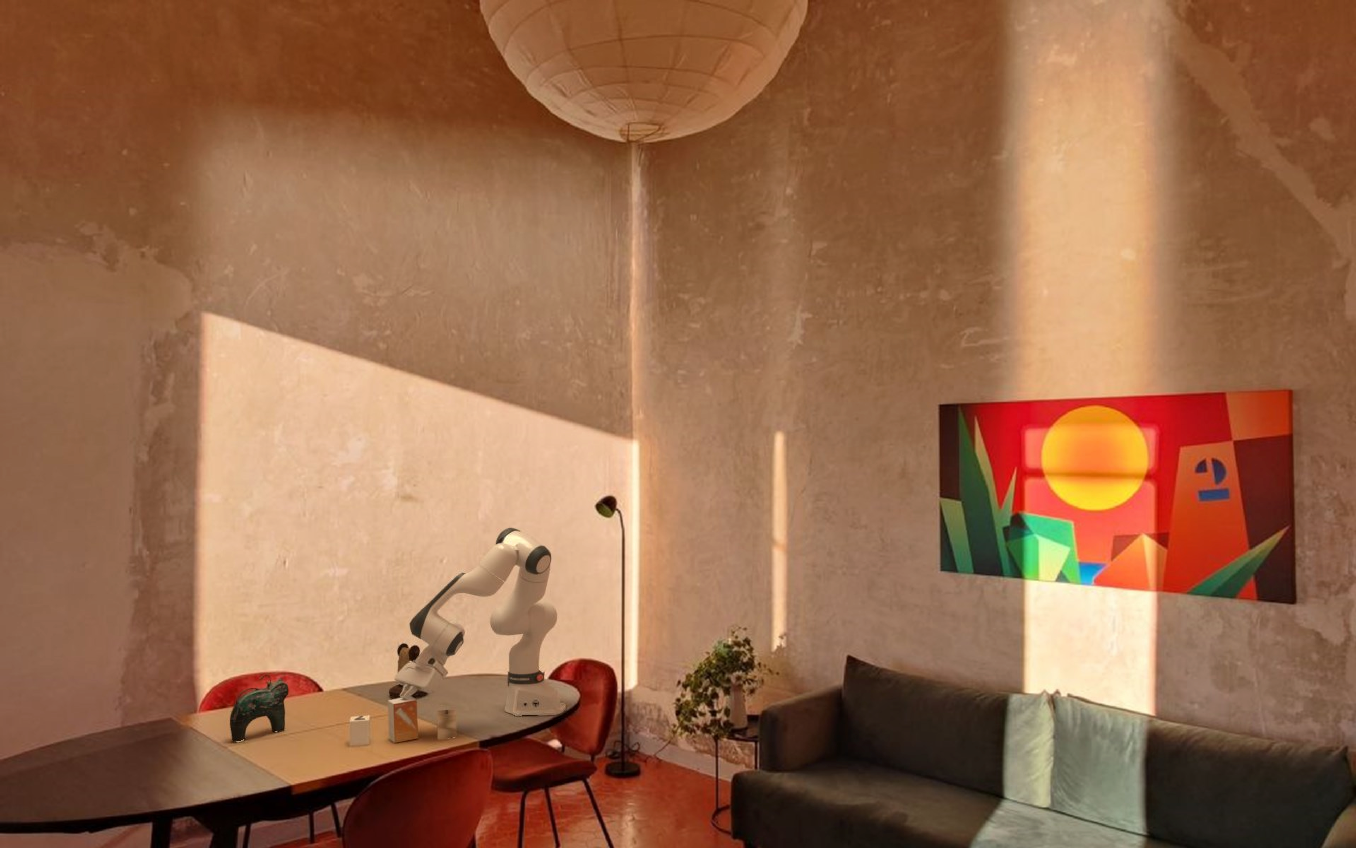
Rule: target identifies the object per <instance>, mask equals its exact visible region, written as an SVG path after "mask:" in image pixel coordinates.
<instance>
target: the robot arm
mask: <svg viewBox="0 0 1356 848" xmlns="http://www.w3.org/2000/svg"><path fill="white" fill-rule="evenodd" d="M551 563H552V553H551V551H550V550H549V549H548V548H547V547H546V545H543V544H542V543H540V541H538V540H536V538H534V537H533V536H530V535H528V534H526V533H524V532H522V531H521V530H520V529H517V528H516V527H515V528H514V527H508V528H505V529H504V530H502V531H501V532H500V533H499V534H498V536H497V538H496V541H495V544H494V546H493V547H492V548H490V550H488V551H487V553H486V554H484V556H483V557H482V558H481V560H480V561H479V563H478V564H477V565H476V566H475V568H473V569H471V570H470V571H469V572H467V573H466V572H461V573H459V574H458V575H456V576H454V578H453V579H451V581H449V582H448V583H447V584H446V585H445V586H444V587H443V588H442V589H441V590H440V591H439V592H438V593H437V594H436V595H435V596H434V597H433V598H432V599H431V600H430V601H429V602H428V603H427V604H426V605H425V606H424V607H423V608H421V609H419V610H418V611H417V612H416V613H415V614H414V615H413V616H412V618H411V619H410V622H409V629H410V633H411V635H412V636H414V637H416V638H418V640H422V641H423V642H425V643H426V644H428V645H427V646H426V647H424V648H423V650H422V651H420V654H419V656H418V658H417V659H416V660H413V661H409V663H407V664H406V665H405V666H404V667H403V668H402V669H401V670H400V671H399V672H398V671H397V672H398V673H397V672H396V673H397V674H396V675H395V676H394V680H395V681H396V683H398V685H399V684H400V685H403V686H404V687H403V690H402V692H401V694H400V696H399V698H403V699H406V700H407V699H408V698H409V697H410V696H411V695H412V694H414V693H415V692H416V691H417V690H420V691H424V692H427V694H431V693H433V692H434V691H435V690H436V689H437V688H438V687H439V685H440V684H441V682H442V681H443V680H444V678H445V677H446V676H447V675H448V674H449V671H448V670H447V668H446V667H445V665H446V663H447V660H448V659H449V657H451V656H455V655H456V653H457V652H458V651H459V649H460V648H461V647H462V646H463V644H464V642H465V641H464V640H465V639H464V637H465V635H466V630H465V628H464V627H463V626H462V625H461V624H460V623H459V622H457V621H456V620H446V619H445V618H444V617H443V616H441V615H439V614H438V613H439V610H440V609H441V608H442V607H443V606H444V605H445V604H446V603H447V602H448V601H450V600H451V598H452V597H453V596H455V595H457V594H467V595H468V594H469V595H473V596H475V597H476V596H477V597H483V598H485V597H487V598H488V597H491V596H494V595H495V594H497V592H498V591H499V590H500V589H501V588H502V586H503V585H504V584H505V582H506V581H507V580H508V578H509V576H510V574H511V573H512V571H513V569H514V567H515V566H518V567H519V569H518V574H517V578H516V582H515V585H514V587H513V591H512V592H511V594H510V595H509V596H508V597H507V599H506V600H505V601H504V602H503V603H502V604H501V605H499V606H498V607H496V608H494V609H493V611H492V612H491V615H490V617H489V624H490V628H491V630H492V631H493V632H494V634H496V635H499V636H517V635H522V637H520V638H521V639H520V640H519V641H518V642H517V643H516V644H514V645H512V646H511V648H510V650H509V652H508V671H507V682H506V683H507V688H508V689H507V698H506V701H505V707H504V712H506V713H509V714H511V715H513V716H514V715H515V716H514V717H523V716H522V715H538V716H557V715H559V714H562V713H563V712H564V711H565V710H566V708H567V707H566V704H565V703H564V702H561V699H560V694H559V692H558V690H557V689H556V688H555V687H553V686H552V685H551V684H549V683H548V682H546V681H545V675H546V674H545V671H541V670H540V652H541V648H542V643H543V641H544V639H545V638H546V636H547V634H548V633H549V632H550V631H551V630H552V629H553V628H554V627H555V626H556V624H557V620H558V613H557V610H556V607H555V606H554V605H553V604H552V603H547V602H539V601H541V600H542V599H543V598H544V596H545V595H546V590H547V586H548V581H549V576H550V570H551Z"/></svg>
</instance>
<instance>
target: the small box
mask: <svg viewBox="0 0 1356 848" xmlns="http://www.w3.org/2000/svg"><path fill="white" fill-rule="evenodd" d="M387 711H388V712H387V713H388V714H387V716H388V717H387V719H388V739H389V741H391V742H392V743H394V744H396V743H400V742H406V741H411V740H416V739H419V731H418V730H419V728H418V727H419V726H418V722H419V721H418V700H417V699H416V698H415V697H413V696H410V697H409V698H408V699H407V700H406V699H403V698H401V697H397V698H394V699H388V700H387Z"/></svg>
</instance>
